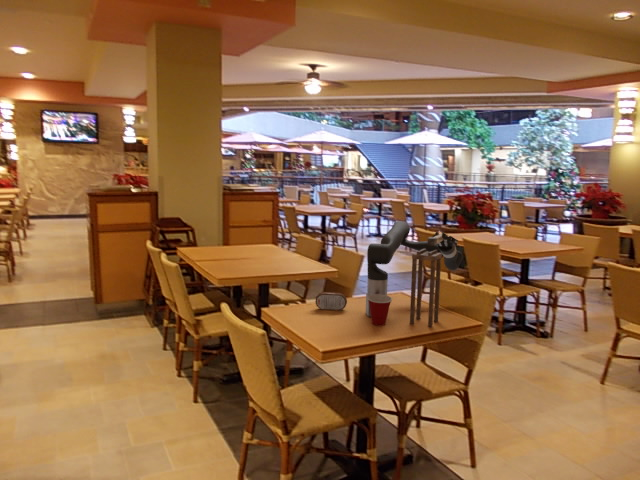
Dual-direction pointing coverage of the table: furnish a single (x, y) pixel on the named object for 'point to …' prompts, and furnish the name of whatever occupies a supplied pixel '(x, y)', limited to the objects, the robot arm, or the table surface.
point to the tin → (331, 301)
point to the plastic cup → (379, 308)
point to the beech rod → (435, 240)
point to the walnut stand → (421, 256)
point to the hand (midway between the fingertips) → (439, 233)
